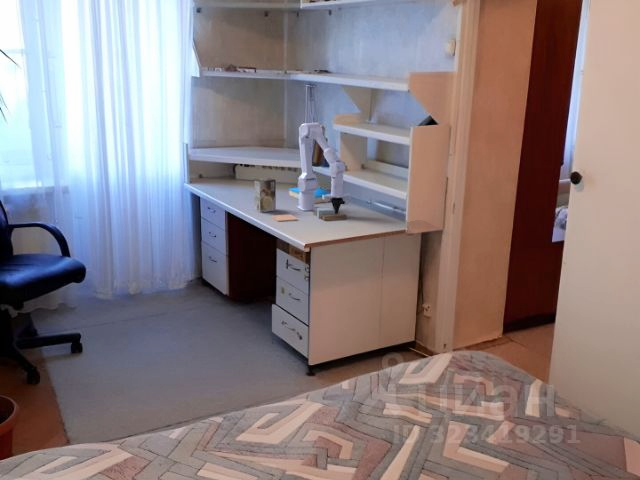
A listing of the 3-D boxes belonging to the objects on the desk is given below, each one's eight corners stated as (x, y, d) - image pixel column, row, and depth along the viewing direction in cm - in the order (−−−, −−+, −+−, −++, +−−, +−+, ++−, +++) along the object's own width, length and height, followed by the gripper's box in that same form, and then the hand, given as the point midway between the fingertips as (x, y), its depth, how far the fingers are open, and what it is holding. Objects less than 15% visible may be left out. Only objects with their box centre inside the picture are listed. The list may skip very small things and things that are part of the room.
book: (311, 197, 355) (288, 188, 375) (311, 205, 357) (287, 195, 377) (338, 194, 364) (313, 185, 384) (337, 202, 366) (313, 192, 386)
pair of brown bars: (313, 214, 334) (313, 210, 333) (335, 212, 338) (335, 208, 338) (324, 220, 321) (324, 216, 321) (346, 219, 326) (346, 215, 325)
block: (316, 216, 330) (316, 208, 329) (332, 215, 332) (332, 207, 331) (318, 218, 325) (318, 210, 324) (334, 218, 327) (334, 210, 326)
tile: (271, 216, 326) (271, 215, 326) (290, 215, 329) (290, 214, 329) (278, 221, 317) (278, 220, 317) (297, 220, 320) (297, 219, 320)
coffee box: (269, 208, 344) (270, 177, 339) (275, 210, 338) (276, 179, 334) (253, 210, 339) (254, 178, 334) (259, 212, 334) (260, 181, 329)
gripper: (326, 188, 321) (325, 215, 324) (353, 186, 326) (352, 213, 330) (321, 185, 327) (320, 212, 331) (347, 183, 332) (346, 210, 336)
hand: (336, 212), depth 331 cm, fingers closed
